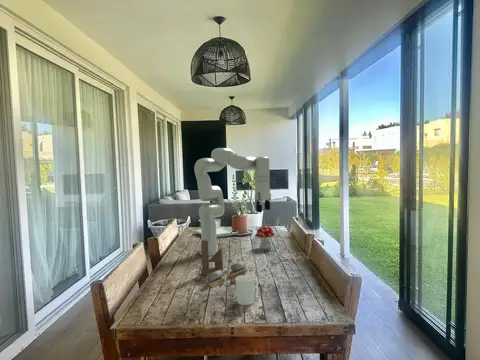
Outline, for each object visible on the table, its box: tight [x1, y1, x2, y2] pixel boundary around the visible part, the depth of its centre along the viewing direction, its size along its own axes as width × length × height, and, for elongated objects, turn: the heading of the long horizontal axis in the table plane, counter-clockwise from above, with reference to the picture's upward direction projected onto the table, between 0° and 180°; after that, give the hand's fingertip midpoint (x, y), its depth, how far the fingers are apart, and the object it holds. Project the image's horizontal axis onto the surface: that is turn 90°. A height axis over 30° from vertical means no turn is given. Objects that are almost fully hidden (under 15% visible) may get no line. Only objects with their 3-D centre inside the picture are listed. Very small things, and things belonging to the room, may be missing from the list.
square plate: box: [194, 226, 239, 238], centre depth 277 cm, size 27×27×4 cm
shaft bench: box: [204, 260, 248, 288], centre depth 171 cm, size 10×26×6 cm, turn 142°
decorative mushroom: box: [254, 225, 276, 251], centre depth 229 cm, size 14×14×15 cm
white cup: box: [235, 274, 256, 306], centre depth 142 cm, size 8×8×10 cm
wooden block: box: [200, 239, 224, 277], centre depth 178 cm, size 4×11×18 cm, turn 84°
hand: (263, 210), depth 191 cm, fingers open, 9 cm apart
